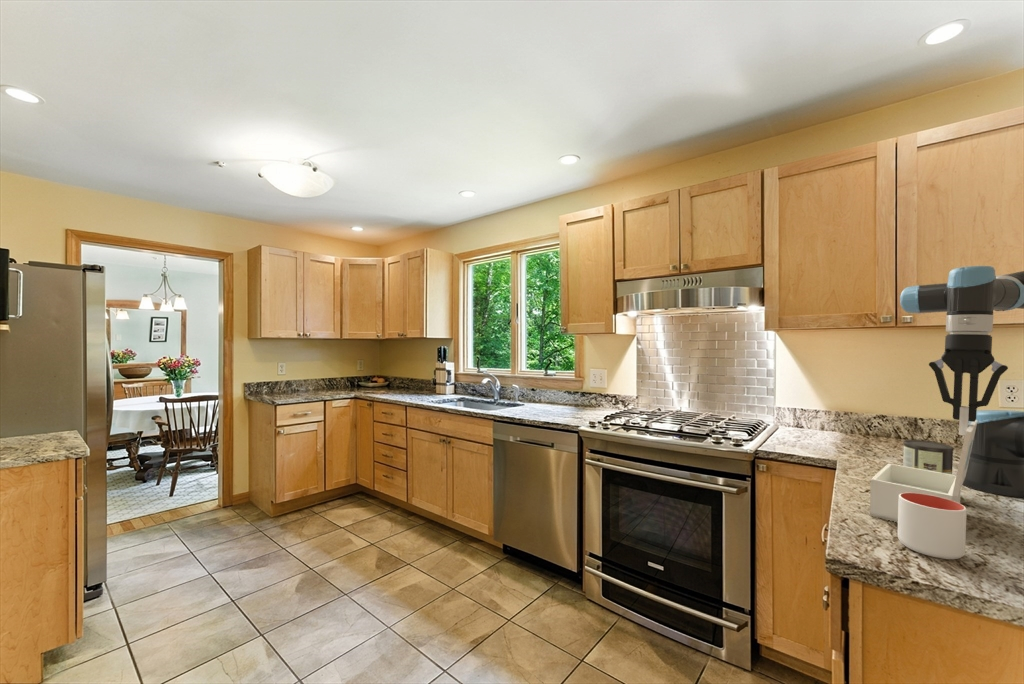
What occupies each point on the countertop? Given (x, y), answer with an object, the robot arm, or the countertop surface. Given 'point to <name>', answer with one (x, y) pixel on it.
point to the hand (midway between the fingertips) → (963, 434)
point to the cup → (932, 525)
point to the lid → (964, 457)
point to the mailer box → (906, 488)
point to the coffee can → (928, 456)
